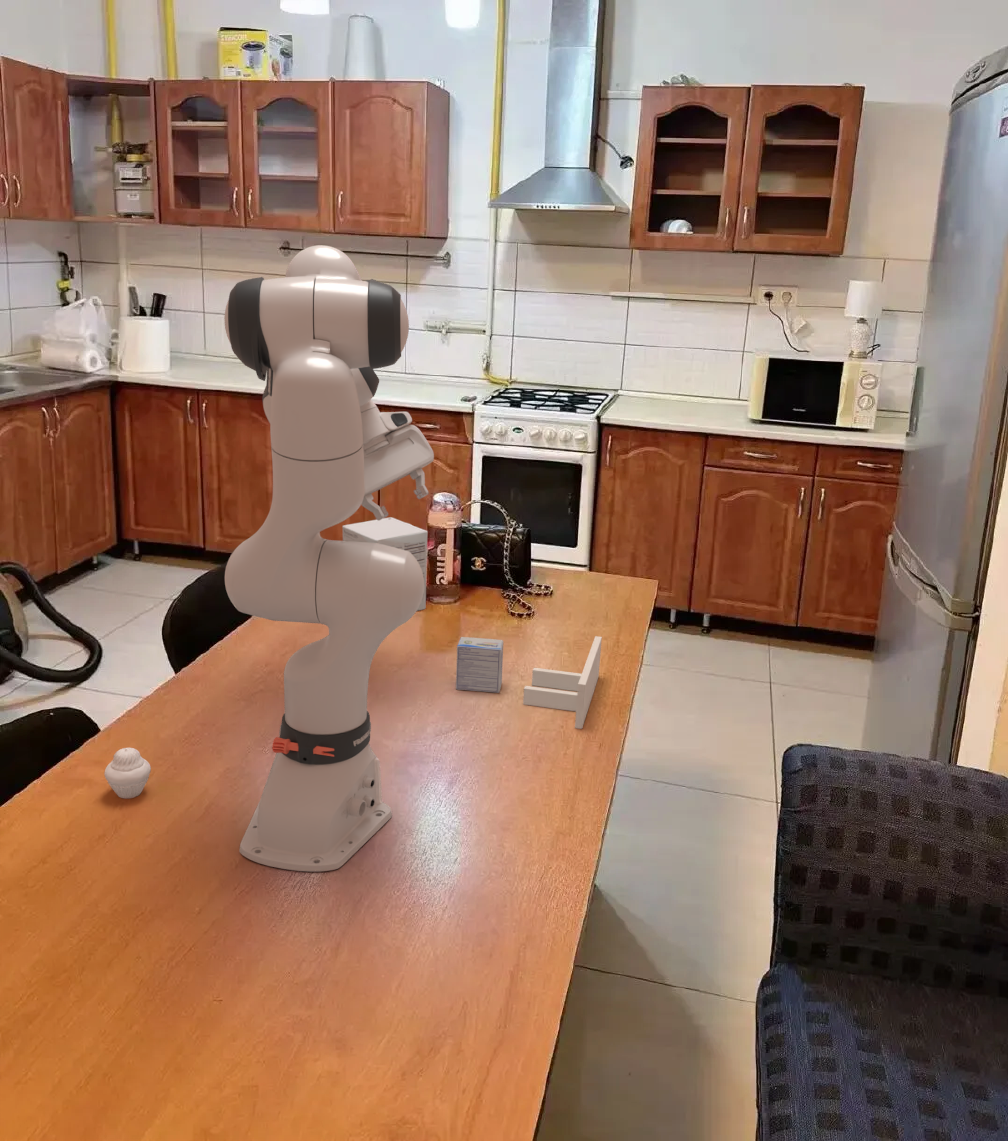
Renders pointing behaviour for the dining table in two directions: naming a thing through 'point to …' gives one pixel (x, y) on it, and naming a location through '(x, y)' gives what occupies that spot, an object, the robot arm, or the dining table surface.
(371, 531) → the supplement box
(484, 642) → the medicine box
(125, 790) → the muffin
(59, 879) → the dining table surface
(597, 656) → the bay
